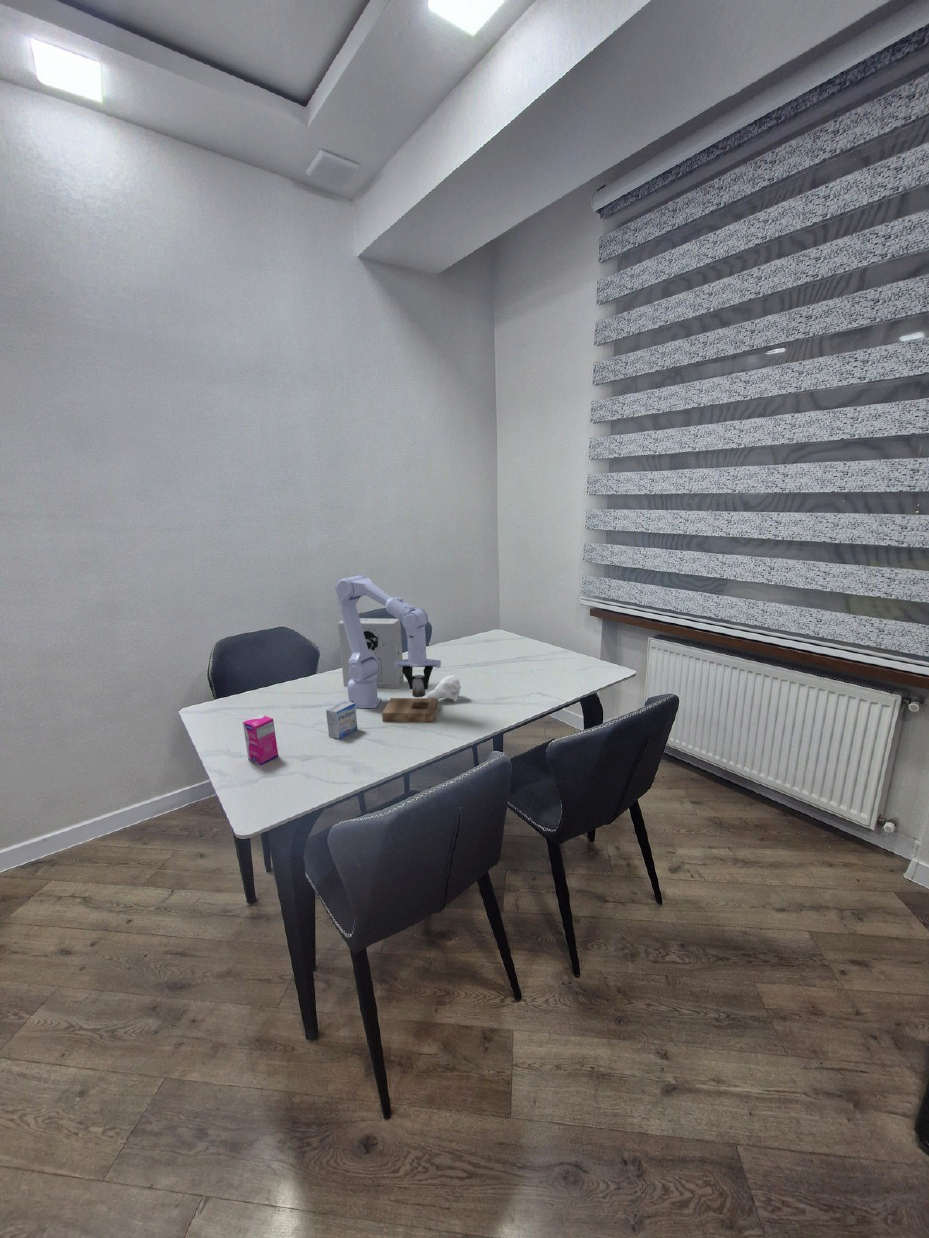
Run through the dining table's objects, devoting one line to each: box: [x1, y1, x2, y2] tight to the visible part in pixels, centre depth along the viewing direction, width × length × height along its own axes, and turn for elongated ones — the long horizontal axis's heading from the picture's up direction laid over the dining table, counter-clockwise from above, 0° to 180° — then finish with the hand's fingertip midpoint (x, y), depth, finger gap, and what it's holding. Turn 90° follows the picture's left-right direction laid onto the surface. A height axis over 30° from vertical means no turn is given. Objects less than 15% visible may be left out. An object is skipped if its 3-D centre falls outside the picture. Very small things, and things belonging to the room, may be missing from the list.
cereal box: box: [337, 617, 405, 689], centre depth 185 cm, size 22×8×25 cm, turn 80°
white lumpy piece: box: [426, 674, 462, 703], centre depth 169 cm, size 6×8×12 cm
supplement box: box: [242, 713, 279, 766], centre depth 133 cm, size 6×6×12 cm
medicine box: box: [325, 700, 358, 740], centre depth 147 cm, size 8×4×9 cm, turn 148°
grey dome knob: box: [411, 674, 427, 698], centre depth 157 cm, size 4×4×6 cm
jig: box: [381, 697, 439, 723], centre depth 160 cm, size 16×12×3 cm
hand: (419, 688), depth 158 cm, fingers closed on grey dome knob, 4 cm apart
